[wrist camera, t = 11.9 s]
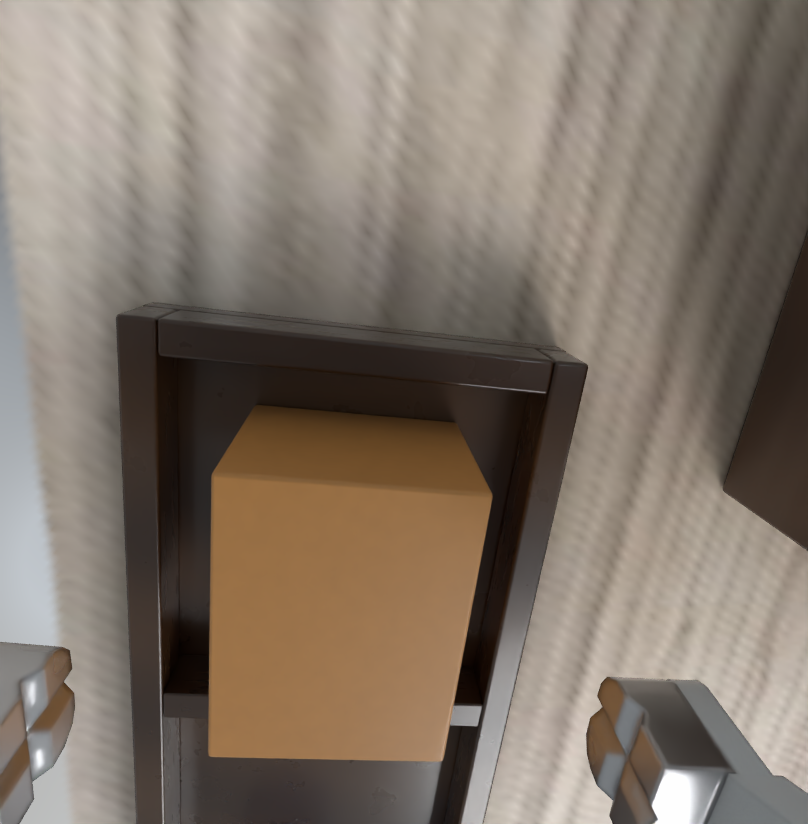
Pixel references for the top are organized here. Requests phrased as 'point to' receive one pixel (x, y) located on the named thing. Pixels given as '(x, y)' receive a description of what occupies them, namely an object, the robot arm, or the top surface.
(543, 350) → the shelf
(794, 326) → the cubby
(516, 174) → the top surface
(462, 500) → the cardboard-colored box
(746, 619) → the top surface
